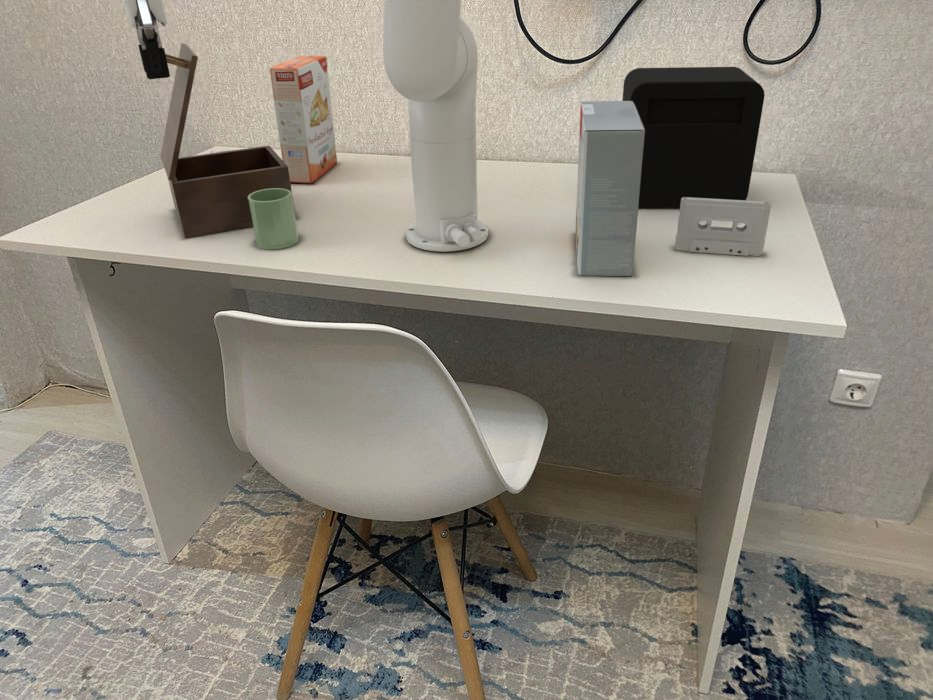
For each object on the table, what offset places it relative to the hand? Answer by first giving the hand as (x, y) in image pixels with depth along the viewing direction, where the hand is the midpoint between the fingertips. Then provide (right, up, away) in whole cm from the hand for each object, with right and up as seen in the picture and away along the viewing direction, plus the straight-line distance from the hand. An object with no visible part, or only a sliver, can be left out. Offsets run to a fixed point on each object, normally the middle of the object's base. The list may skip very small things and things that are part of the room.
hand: (157, 73), depth 111 cm
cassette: (+83, -28, -5) cm, 88 cm away
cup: (+17, -25, +3) cm, 31 cm away
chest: (+7, -19, +14) cm, 25 cm away
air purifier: (+83, -15, +17) cm, 86 cm away
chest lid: (+2, -4, +4) cm, 6 cm away
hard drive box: (+66, -28, -5) cm, 72 cm away
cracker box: (+17, -7, +34) cm, 39 cm away
